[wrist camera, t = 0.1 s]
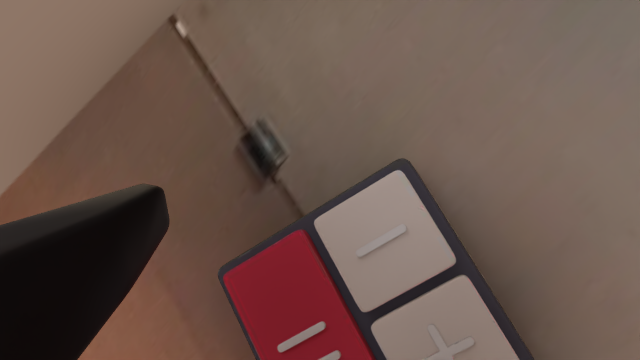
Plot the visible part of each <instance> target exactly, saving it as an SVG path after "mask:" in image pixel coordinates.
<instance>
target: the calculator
mask: <svg viewBox="0 0 640 360" xmlns="http://www.w3.org/2000/svg"><path fill="white" fill-rule="evenodd" d="M218 278H219V281H220V283H221V285H222V287H223V289H224V292H225V294H226V296H227V298H228V300H229V302H230V304H231V306H232V309H233V311H234V313H235V315H236V317H237V319H238V321H239V323H240V326H241V328H242V330H243V332H244V334H245V336H246V338H247V341H248V343H249V345H250V347H251V349H252V351H253V353H254V355H255V358H256V360H534V358H533V357H532V355H531V354H530V352H529V350H528V349H527V347H526V346H525V344H524V342H523V341H522V339H521V338H520V336H519V334H518V333H517V331H516V330H515V328H514V326H513V325H512V323H511V322H510V320H509V318H508V317H507V315H506V314H505V312H504V311H503V309H502V307H501V306H500V304H499V303H498V301H497V299H496V298H495V296H494V295H493V293H492V291H491V290H490V288H489V287H488V285H487V283H486V282H485V280H484V279H483V277H482V275H481V274H480V272H479V271H478V269H477V267H476V266H475V264H474V263H473V261H472V259H471V258H470V256H469V255H468V253H467V251H466V250H465V248H464V247H463V245H462V244H461V242H460V240H459V239H458V237H457V236H456V234H455V232H454V231H453V229H452V228H451V226H450V224H449V223H448V221H447V220H446V218H445V216H444V215H443V213H442V212H441V210H440V208H439V207H438V205H437V204H436V202H435V200H434V199H433V197H432V196H431V194H430V192H429V191H428V189H427V188H426V186H425V185H424V183H423V181H422V180H421V178H420V177H419V175H418V173H417V172H416V170H415V169H414V167H413V166H412V164H411V163H410V162H409V161H408V160H406V159H398V160H396V161H394V162H392V163H391V164H389V165H387V166H386V167H384V168H382V169H381V170H379V171H377V172H376V173H374V174H373V175H371V176H369V177H368V178H366V179H364V180H363V181H361V182H359V183H358V184H356V185H355V186H353V187H351V188H350V189H348V190H346V191H345V192H343V193H341V194H340V195H338V196H336V197H335V198H333V199H332V200H330V201H328V202H327V203H325V204H323V205H322V206H320V207H318V208H317V209H315V210H313V211H312V212H310V213H309V214H307V215H305V216H304V217H302V218H300V219H299V220H297V221H295V222H294V223H292V224H290V225H289V226H287V227H286V228H284V229H282V230H281V231H279V232H277V233H276V234H274V235H272V236H271V237H269V238H267V239H266V240H264V241H263V242H261V243H259V244H258V245H256V246H254V247H253V248H251V249H249V250H248V251H246V252H245V253H243V254H241V255H240V256H238V257H236V258H235V259H233V260H231V261H230V262H228V263H226V264H225V265H223V266H222V267H221V268H220V269H219V271H218Z"/></svg>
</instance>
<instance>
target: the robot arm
mask: <svg viewBox="0 0 640 360" xmlns="http://www.w3.org/2000/svg"><path fill="white" fill-rule="evenodd" d="M168 227H169V214H168V209H167V204H166V198H165V194H164V191H163V189H162V188H160V187H158V186H153V185H148V184H139V185H136V186H132V187H129V188H126V189H122V190H119V191H115V192H112V193H109V194H105V195H102V196H98V197H95V198H92V199H88V200H85V201H81V202H78V203H75V204H71V205H68V206H64V207H61V208H58V209H54V210H51V211H47V212H44V213H41V214H37V215H34V216H30V217H27V218H24V219H20V220H17V221H13V222H10V223H7V224H3V225H0V360H77V359H78V358H79V357H80V355H81V354H82V353H83V352H84V350H85V349H86V348H87V346H88V345H89V344H90V342H91V341H92V340H93V338H94V337H95V336H96V335H97V333H98V332H99V331H100V329H101V328H102V327H103V325H104V324H105V323H106V321H107V320H108V319H109V318H110V316H111V315H112V314H113V312H114V311H115V310H116V308H117V307H118V306H119V305H120V303H121V302H122V301H123V299H124V298H125V297H126V295H127V294H128V292H129V291H130V290H131V288H132V287H133V285H134V284H135V282H136V280H137V279H138V277H139V276H140V274H141V272H142V271H143V269H144V268H145V266H146V264H147V263H148V261H149V260H150V258H151V256H152V255H153V253H154V251H155V250H156V248H157V247H158V245H159V243H160V242H161V240H162V239H163V237H164V235H165V234H166V232H167V230H168Z"/></svg>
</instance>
